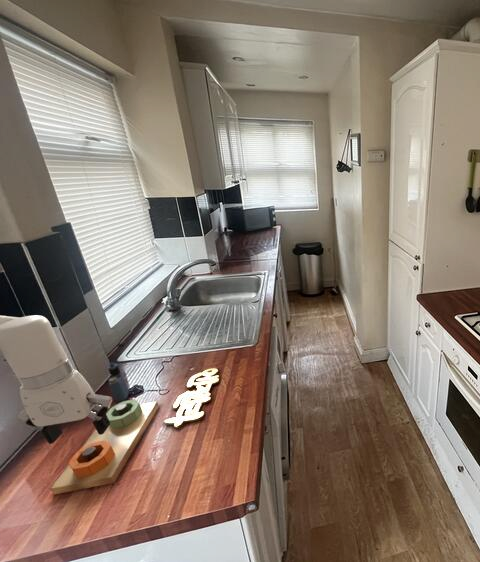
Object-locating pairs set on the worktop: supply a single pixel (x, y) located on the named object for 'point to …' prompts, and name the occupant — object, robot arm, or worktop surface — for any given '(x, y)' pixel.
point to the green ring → (125, 418)
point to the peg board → (122, 446)
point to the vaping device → (117, 383)
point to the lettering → (194, 398)
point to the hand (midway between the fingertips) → (81, 433)
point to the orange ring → (94, 465)
